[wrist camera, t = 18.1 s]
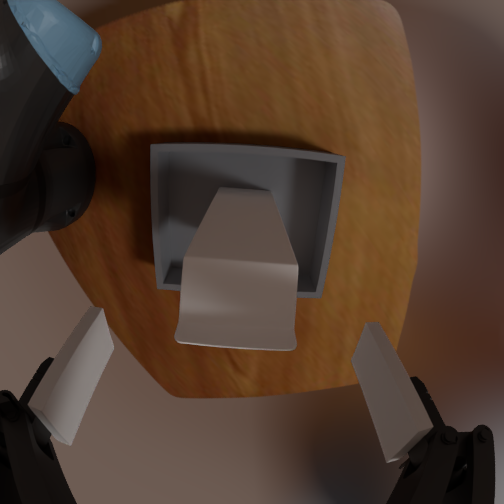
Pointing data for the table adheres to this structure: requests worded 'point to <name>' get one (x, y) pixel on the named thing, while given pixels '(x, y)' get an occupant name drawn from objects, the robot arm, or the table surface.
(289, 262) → the milk
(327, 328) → the table surface
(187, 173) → the bin
